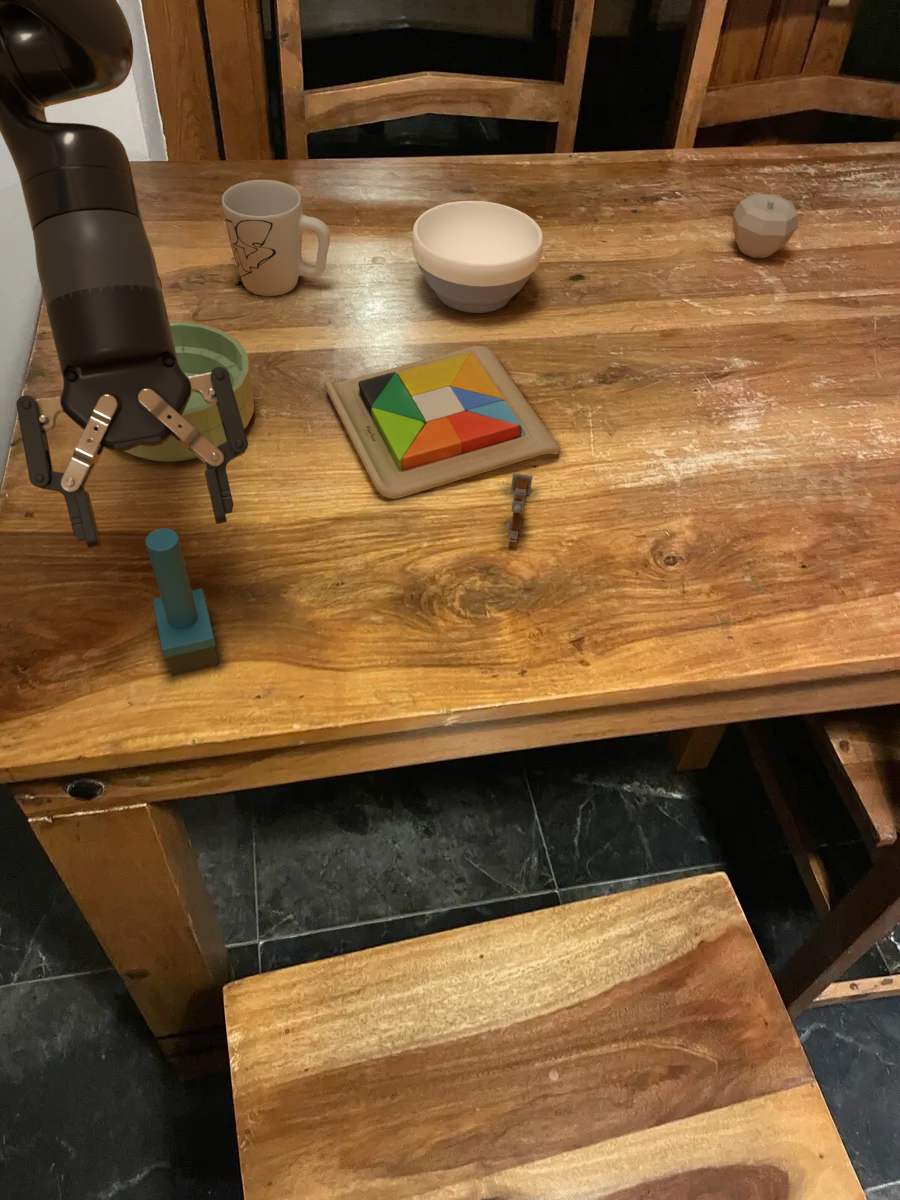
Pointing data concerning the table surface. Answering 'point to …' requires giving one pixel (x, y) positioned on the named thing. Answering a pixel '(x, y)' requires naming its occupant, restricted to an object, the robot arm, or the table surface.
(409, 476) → the wooden puzzle
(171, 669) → the teal peg on base
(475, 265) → the bowl
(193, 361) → the wash bowl
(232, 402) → the robot arm
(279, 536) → the table surface
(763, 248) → the apple
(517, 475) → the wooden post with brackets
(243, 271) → the mug
